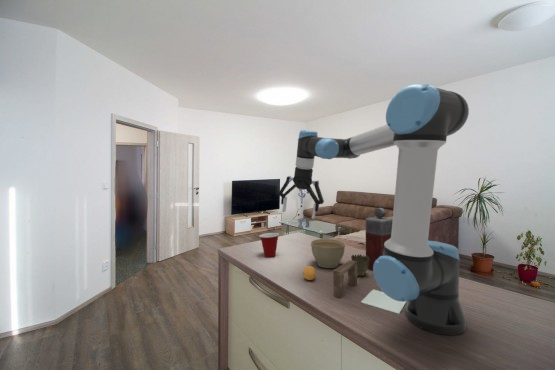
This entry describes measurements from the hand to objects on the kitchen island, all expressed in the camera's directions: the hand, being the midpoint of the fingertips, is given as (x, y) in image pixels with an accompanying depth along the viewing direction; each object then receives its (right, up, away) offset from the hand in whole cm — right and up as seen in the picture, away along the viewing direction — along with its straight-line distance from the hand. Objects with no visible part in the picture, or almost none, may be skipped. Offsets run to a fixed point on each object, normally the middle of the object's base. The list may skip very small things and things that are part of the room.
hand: (298, 214), depth 113 cm
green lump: (+27, -26, -3) cm, 37 cm away
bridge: (+17, -26, -17) cm, 35 cm away
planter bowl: (+15, -26, +10) cm, 31 cm away
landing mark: (+28, -27, -26) cm, 46 cm away
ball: (+4, -24, -7) cm, 25 cm away
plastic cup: (-13, -26, +25) cm, 39 cm away
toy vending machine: (+39, -25, +4) cm, 46 cm away
